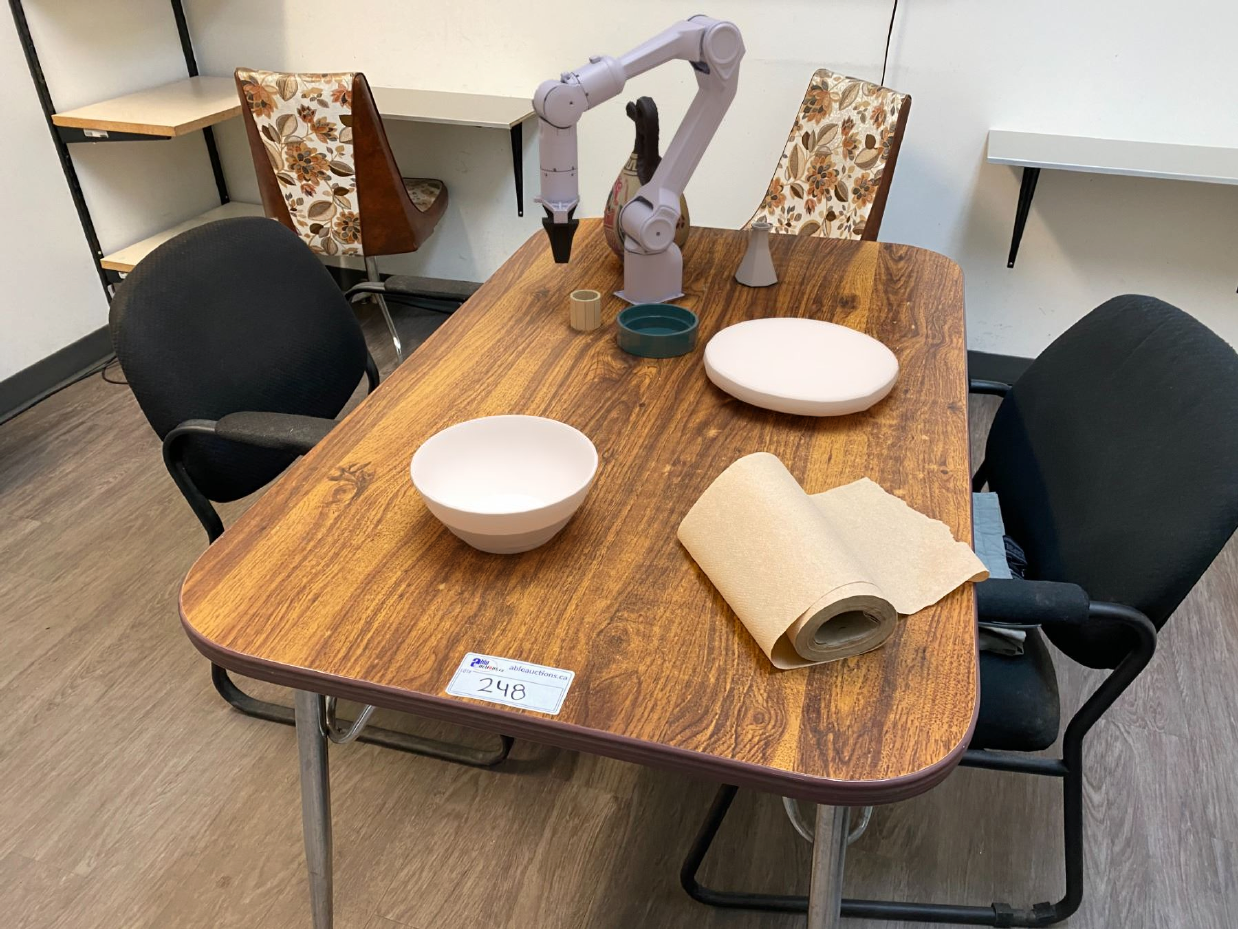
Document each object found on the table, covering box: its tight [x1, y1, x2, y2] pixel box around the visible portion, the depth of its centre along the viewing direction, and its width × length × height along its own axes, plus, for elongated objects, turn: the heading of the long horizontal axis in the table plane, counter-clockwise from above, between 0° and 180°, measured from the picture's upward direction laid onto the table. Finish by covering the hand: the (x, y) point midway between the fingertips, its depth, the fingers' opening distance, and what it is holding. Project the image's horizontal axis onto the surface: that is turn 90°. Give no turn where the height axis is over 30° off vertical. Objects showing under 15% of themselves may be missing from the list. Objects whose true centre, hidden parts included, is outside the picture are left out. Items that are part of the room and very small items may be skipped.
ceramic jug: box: [602, 95, 691, 266], centre depth 158 cm, size 17×15×30 cm
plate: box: [702, 317, 900, 417], centre depth 127 cm, size 28×6×27 cm
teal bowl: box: [616, 302, 700, 359], centre depth 137 cm, size 12×12×4 cm
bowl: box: [409, 414, 599, 555], centre depth 97 cm, size 19×20×8 cm
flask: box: [734, 221, 778, 287], centre depth 159 cm, size 7×7×10 cm
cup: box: [569, 289, 602, 332], centre depth 142 cm, size 5×5×5 cm
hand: (561, 254), depth 145 cm, fingers open, 7 cm apart
